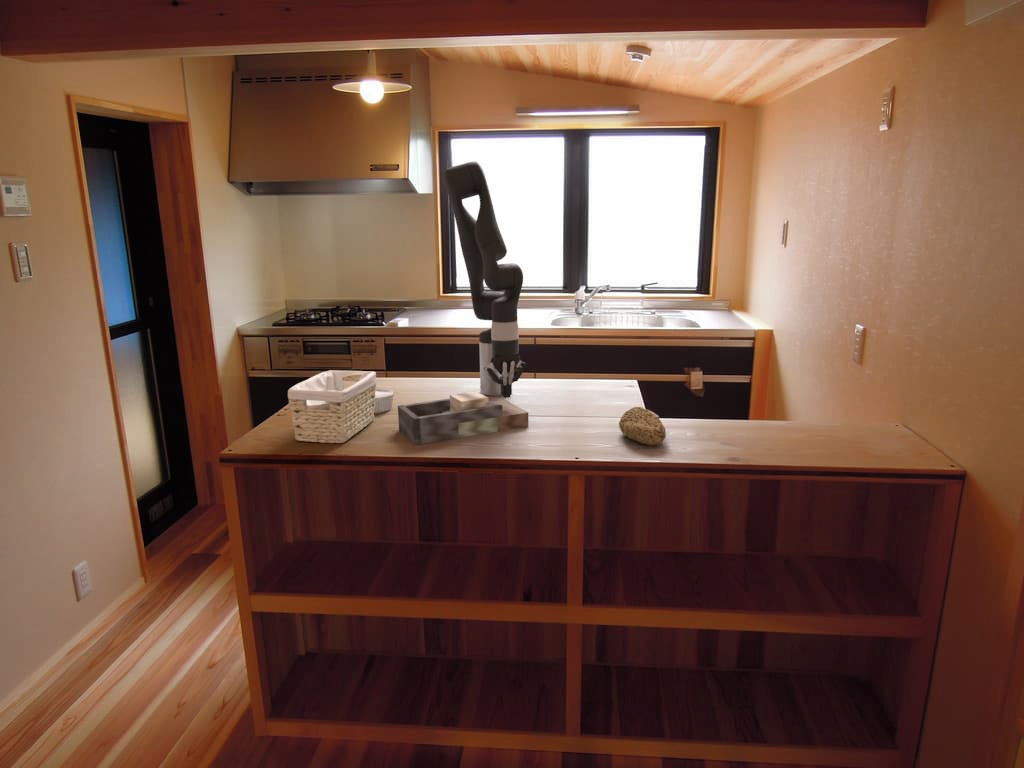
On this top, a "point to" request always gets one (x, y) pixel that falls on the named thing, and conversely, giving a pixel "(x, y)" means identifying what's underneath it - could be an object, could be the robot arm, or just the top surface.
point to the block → (467, 401)
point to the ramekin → (383, 400)
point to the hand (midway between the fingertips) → (506, 396)
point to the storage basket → (332, 406)
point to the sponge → (642, 426)
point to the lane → (456, 420)
